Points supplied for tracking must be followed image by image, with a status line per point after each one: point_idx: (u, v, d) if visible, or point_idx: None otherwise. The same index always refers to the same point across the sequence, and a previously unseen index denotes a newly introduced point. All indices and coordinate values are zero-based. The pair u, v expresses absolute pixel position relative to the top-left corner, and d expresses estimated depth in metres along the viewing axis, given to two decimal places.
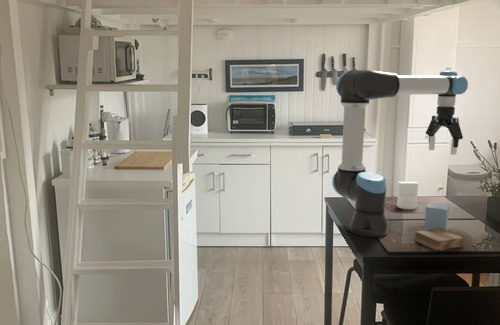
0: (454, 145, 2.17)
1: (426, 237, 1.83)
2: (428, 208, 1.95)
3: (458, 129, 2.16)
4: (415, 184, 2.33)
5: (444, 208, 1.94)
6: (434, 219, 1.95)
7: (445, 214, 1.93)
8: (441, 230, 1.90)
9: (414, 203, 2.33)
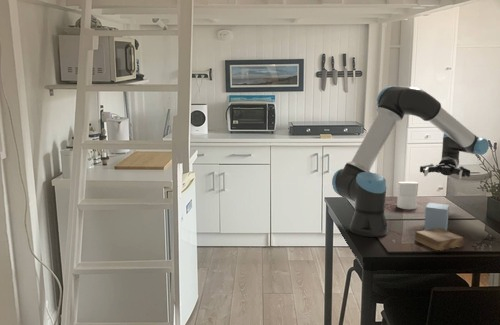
0: (463, 172, 2.04)
1: (426, 237, 1.83)
2: (428, 208, 1.95)
3: None
4: (415, 184, 2.33)
5: (444, 208, 1.94)
6: (434, 219, 1.95)
7: (445, 214, 1.93)
8: (441, 230, 1.90)
9: (414, 203, 2.33)
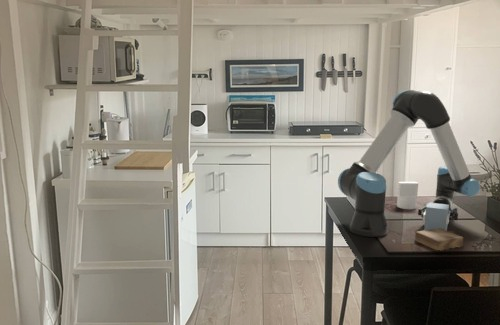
0: (450, 216, 1.95)
1: (426, 237, 1.83)
2: (428, 208, 1.95)
3: None
4: (415, 184, 2.33)
5: (444, 208, 1.94)
6: (434, 219, 1.95)
7: (445, 214, 1.93)
8: (441, 230, 1.90)
9: (414, 203, 2.33)
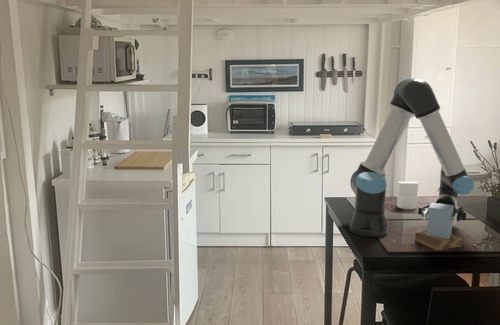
0: (458, 216, 1.81)
1: (426, 237, 1.83)
2: (431, 208, 1.81)
3: None
4: (415, 184, 2.33)
5: (448, 208, 1.80)
6: (437, 220, 1.81)
7: (449, 215, 1.79)
8: None
9: (414, 203, 2.33)
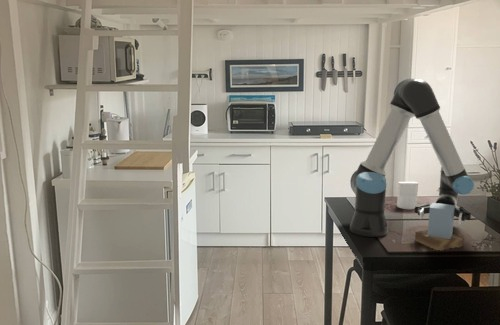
0: (463, 216, 1.81)
1: (426, 237, 1.83)
2: (432, 209, 1.82)
3: None
4: (415, 184, 2.33)
5: (449, 209, 1.80)
6: (438, 220, 1.81)
7: (451, 215, 1.79)
8: None
9: (414, 203, 2.33)
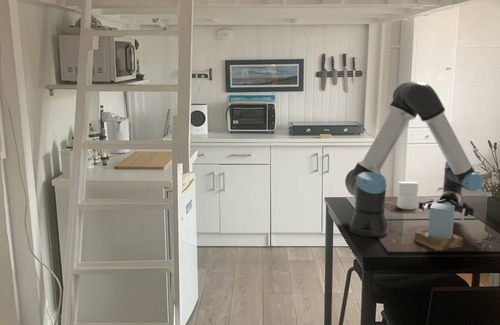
0: (466, 212, 1.86)
1: (426, 237, 1.83)
2: (432, 209, 1.81)
3: None
4: (415, 184, 2.33)
5: (450, 209, 1.80)
6: (438, 220, 1.81)
7: (451, 215, 1.79)
8: None
9: (414, 203, 2.33)
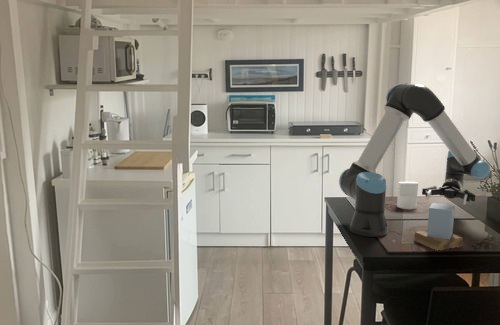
0: (468, 197, 1.93)
1: (425, 237, 1.83)
2: (431, 209, 1.81)
3: None
4: (415, 184, 2.33)
5: (449, 209, 1.80)
6: (437, 220, 1.81)
7: (450, 215, 1.79)
8: None
9: (414, 203, 2.33)
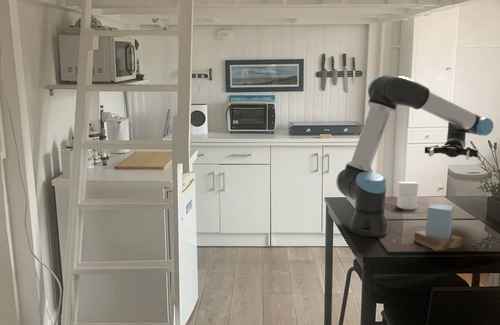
0: (470, 153, 1.94)
1: (425, 237, 1.83)
2: (430, 208, 1.82)
3: None
4: (415, 184, 2.33)
5: (448, 209, 1.80)
6: (436, 220, 1.81)
7: (449, 215, 1.79)
8: None
9: (414, 203, 2.33)
